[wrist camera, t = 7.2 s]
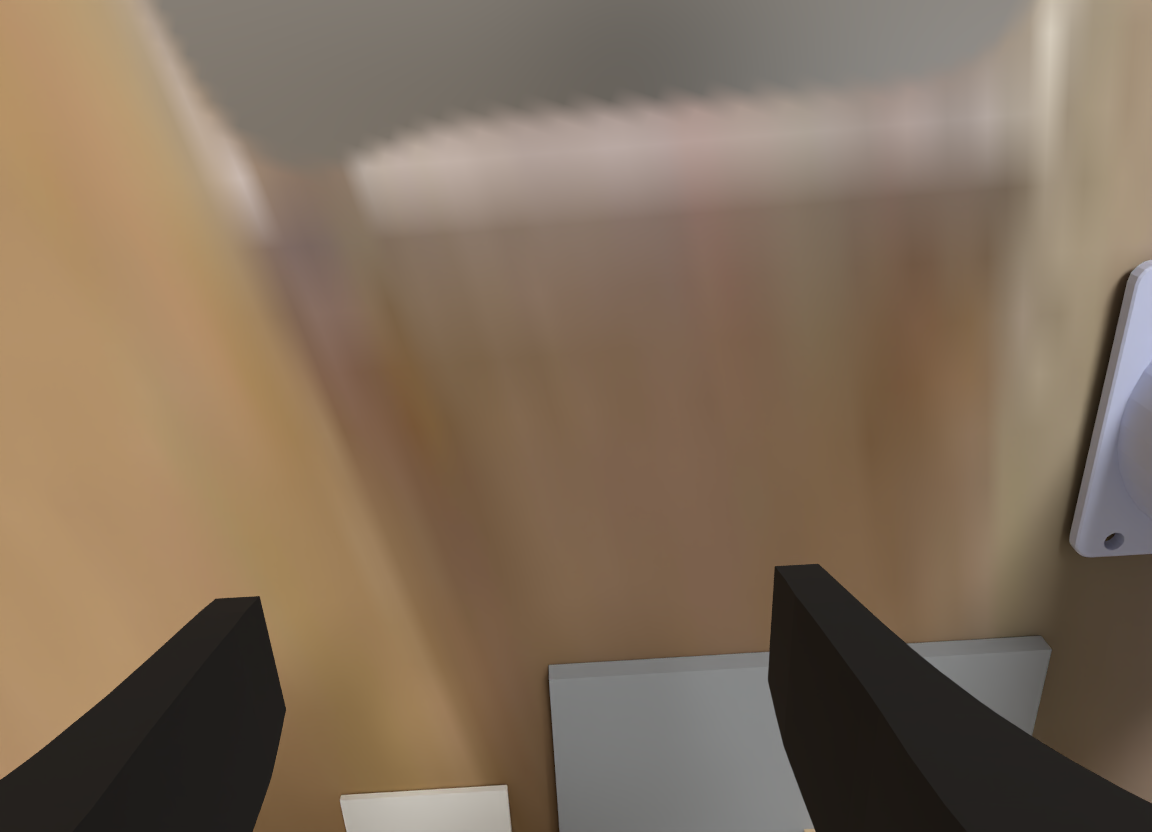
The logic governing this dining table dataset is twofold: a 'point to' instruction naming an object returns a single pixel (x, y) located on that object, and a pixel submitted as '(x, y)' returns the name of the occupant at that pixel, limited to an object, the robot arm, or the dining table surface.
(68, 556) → the dining table surface
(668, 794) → the mat
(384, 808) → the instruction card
